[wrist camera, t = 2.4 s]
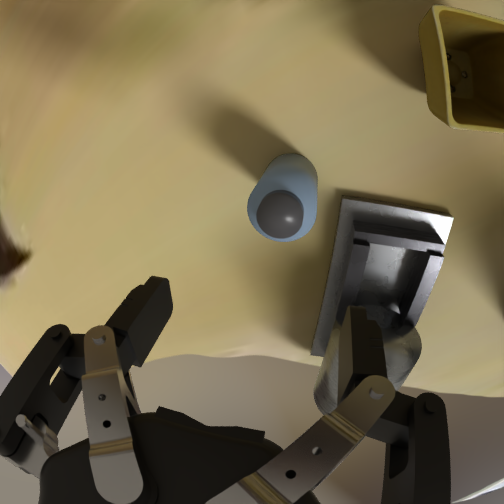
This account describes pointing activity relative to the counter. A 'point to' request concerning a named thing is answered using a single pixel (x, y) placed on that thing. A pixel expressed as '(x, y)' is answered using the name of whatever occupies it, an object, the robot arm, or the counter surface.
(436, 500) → the robot arm
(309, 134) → the counter surface
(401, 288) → the electric motor
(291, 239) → the blue capped cylinder
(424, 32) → the flower pot
